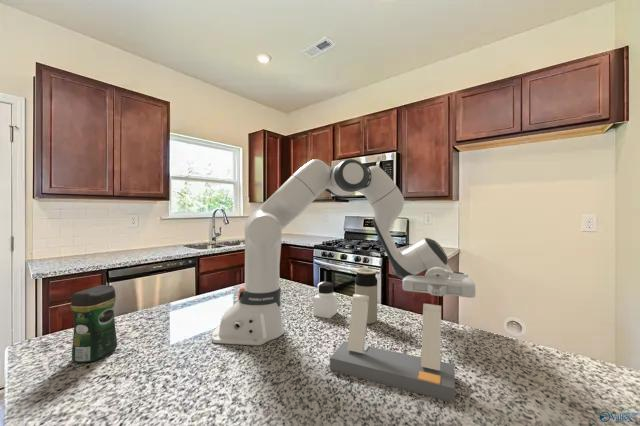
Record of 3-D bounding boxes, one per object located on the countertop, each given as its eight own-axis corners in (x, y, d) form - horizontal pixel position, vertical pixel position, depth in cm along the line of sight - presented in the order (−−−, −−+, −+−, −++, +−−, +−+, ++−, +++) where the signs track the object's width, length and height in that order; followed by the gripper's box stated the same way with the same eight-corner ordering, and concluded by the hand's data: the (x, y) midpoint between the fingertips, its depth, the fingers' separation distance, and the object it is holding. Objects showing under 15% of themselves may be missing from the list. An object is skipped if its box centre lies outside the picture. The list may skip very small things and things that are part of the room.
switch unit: (329, 369, 70) (329, 356, 70) (344, 351, 79) (344, 339, 79) (454, 402, 58) (454, 387, 58) (454, 376, 67) (454, 363, 67)
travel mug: (366, 326, 96) (367, 274, 96) (350, 319, 102) (350, 270, 102) (381, 320, 101) (382, 270, 101) (365, 314, 107) (365, 267, 107)
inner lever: (346, 349, 73) (353, 293, 77) (349, 349, 74) (355, 294, 78) (362, 353, 71) (367, 295, 75) (364, 352, 73) (369, 296, 77)
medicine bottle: (337, 312, 109) (337, 281, 109) (330, 319, 103) (330, 286, 103) (320, 309, 112) (320, 279, 112) (312, 315, 106) (312, 284, 106)
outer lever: (420, 366, 65) (423, 303, 69) (421, 365, 67) (423, 303, 71) (439, 370, 63) (441, 305, 67) (440, 369, 65) (441, 305, 69)
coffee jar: (97, 345, 83) (97, 282, 82) (122, 347, 82) (121, 283, 81) (64, 363, 73) (63, 292, 73) (91, 365, 72) (90, 293, 72)
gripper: (405, 269, 96) (398, 278, 84) (473, 274, 87) (476, 285, 75) (405, 287, 96) (398, 299, 84) (473, 294, 88) (476, 308, 75)
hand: (436, 292), depth 79 cm, fingers closed
